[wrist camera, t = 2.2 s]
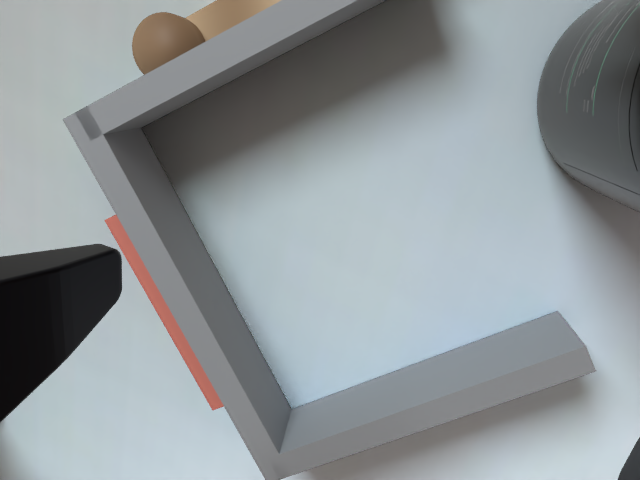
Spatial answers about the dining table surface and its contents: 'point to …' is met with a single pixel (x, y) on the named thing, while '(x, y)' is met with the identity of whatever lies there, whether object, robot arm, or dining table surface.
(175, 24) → the rail
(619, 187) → the supplement bottle
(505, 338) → the bay
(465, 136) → the dining table surface
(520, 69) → the dining table surface
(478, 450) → the dining table surface
